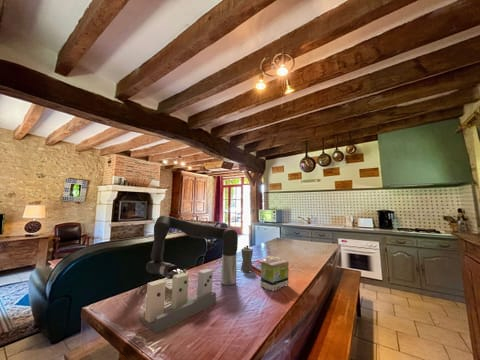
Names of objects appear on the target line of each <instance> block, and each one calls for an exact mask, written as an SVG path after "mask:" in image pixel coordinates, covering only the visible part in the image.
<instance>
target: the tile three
mask: <svg viewBox="0 0 480 360" xmlns="http://www.w3.org/2000/svg"><path fill="white" fill-rule="evenodd" d="M197 273H198V274H197V289H196V290H197V293H196V294H197V298H200V297H202V296H204V295H207V294H209V293H211V292H213V269H210V268H204V269H201V270H198V272H197Z"/></svg>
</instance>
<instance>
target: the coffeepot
mask: <svg viewBox="0 0 480 360" xmlns="http://www.w3.org/2000/svg"><path fill="white" fill-rule="evenodd" d="M253 253H254V249H253V248H250V247H249V245H245V246H244V247H243V248H241V257H242V261H241V269H240V270H241V271H242V272H244V271H246V272H245V273H250V272H249V271H251V272H253V270H252V269H253V261H252V258H253Z"/></svg>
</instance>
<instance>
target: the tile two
mask: <svg viewBox="0 0 480 360" xmlns="http://www.w3.org/2000/svg"><path fill="white" fill-rule="evenodd" d="M189 275H190V274H188V273H187V272H186V273H180V274H177V275H174V276H173V279H172V285H171V301H170V305H171V308H172V309H175V308H177V307H179V306H182V305H184V304H186V303H187V299H188V298H189V296H188V295H189V294H188V293H189V277H190V276H189Z"/></svg>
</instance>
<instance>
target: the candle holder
mask: <svg viewBox="0 0 480 360" xmlns="http://www.w3.org/2000/svg"><path fill="white" fill-rule="evenodd" d="M276 258H277V259H281V258H280V256H279V257H278V256H276V255H267V256H266V257H265V261H267V260H272V259H276Z"/></svg>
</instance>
